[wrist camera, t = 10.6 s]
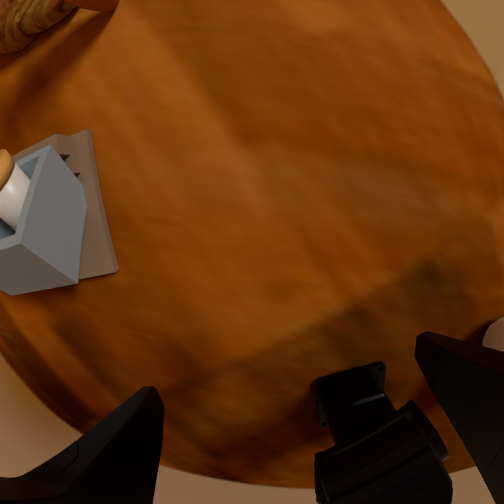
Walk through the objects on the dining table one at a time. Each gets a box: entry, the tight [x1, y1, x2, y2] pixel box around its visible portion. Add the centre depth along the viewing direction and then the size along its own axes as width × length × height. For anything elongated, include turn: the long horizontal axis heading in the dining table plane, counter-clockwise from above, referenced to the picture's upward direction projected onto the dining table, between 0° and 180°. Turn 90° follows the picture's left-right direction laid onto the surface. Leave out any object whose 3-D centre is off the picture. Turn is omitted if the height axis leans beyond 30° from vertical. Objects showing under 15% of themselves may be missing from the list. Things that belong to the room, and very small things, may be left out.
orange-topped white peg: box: [0, 149, 31, 231], centre depth 14 cm, size 3×3×7 cm
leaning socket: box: [0, 129, 119, 296], centre depth 15 cm, size 11×9×9 cm
